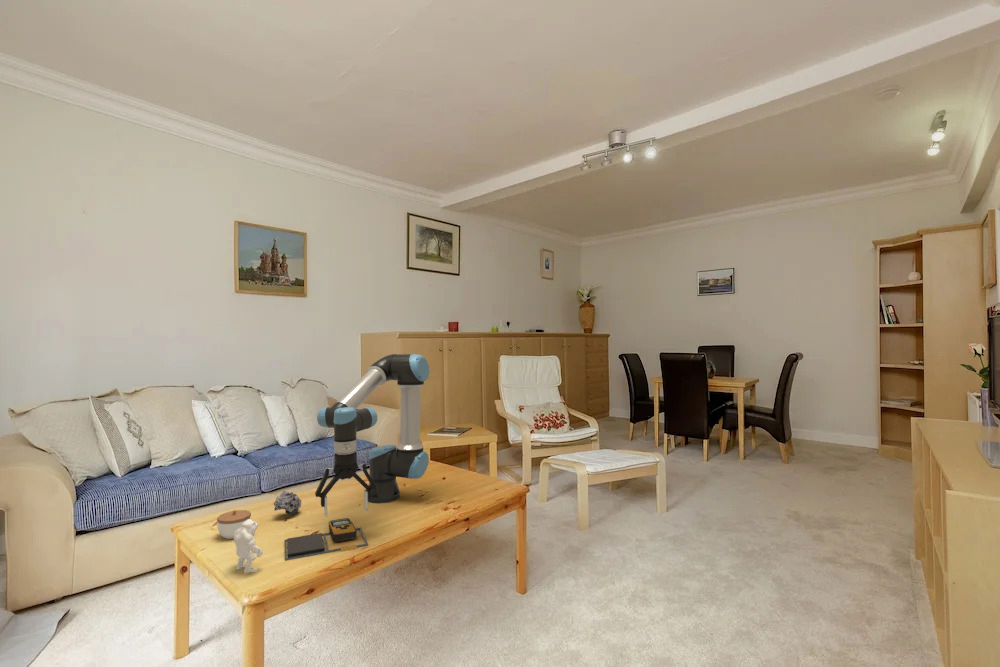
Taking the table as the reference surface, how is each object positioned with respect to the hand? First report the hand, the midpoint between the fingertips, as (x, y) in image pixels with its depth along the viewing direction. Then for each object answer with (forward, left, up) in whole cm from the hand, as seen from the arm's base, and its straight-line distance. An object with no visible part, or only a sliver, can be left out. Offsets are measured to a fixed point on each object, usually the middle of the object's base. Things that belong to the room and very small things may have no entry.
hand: (346, 512), depth 168 cm
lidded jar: (-22, -36, -11) cm, 44 cm away
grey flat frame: (0, -7, -10) cm, 12 cm away
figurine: (+9, -31, -11) cm, 34 cm away
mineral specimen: (-35, -18, -11) cm, 41 cm away
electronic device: (+1, -1, -11) cm, 11 cm away
